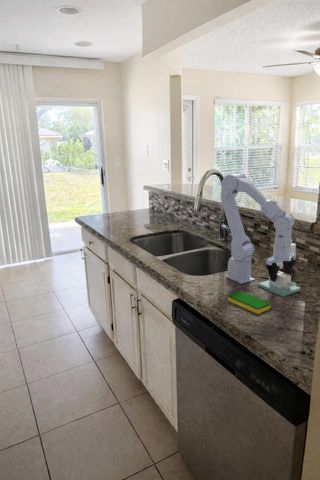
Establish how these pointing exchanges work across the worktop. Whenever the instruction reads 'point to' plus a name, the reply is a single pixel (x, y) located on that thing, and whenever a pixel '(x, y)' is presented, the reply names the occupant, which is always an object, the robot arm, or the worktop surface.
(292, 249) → the ink cartridge box
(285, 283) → the white rounded piece
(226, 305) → the worktop surface
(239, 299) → the dish sponge
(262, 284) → the teal mat
